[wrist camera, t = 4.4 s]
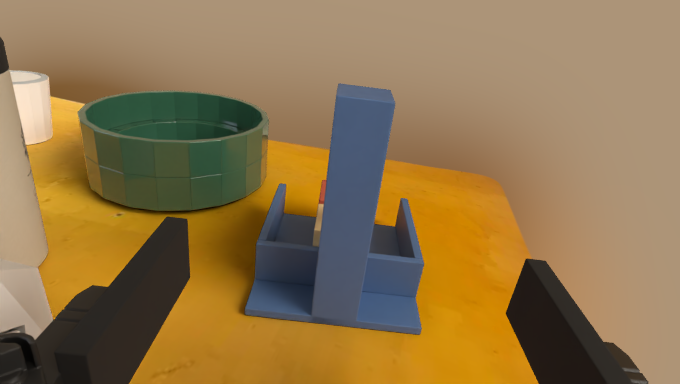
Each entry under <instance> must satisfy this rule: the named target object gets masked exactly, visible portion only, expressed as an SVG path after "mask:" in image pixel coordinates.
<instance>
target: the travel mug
mask: <svg viewBox="0 0 680 384" xmlns="http://www.w3.org/2000/svg"><path fill="white" fill-rule="evenodd" d="M47 254H48V244H47V240H46V235H45V230H44V226H43V221H42V217H41V212H40V208H39V203H38V198H37V194H36V189H35V185H34V180H33V175H32V171H31V166H30V162H29V157H28V152H27V148H26V143H25V139H24V134H23V129H22V125H21V120H20V116H19V111H18V106H17V102H16V97H15V93H14V88H13V83H12V79H11V74H10V70H9V65H8V61H7V56H6V52H5V47H4V42H3V40H2V39H1V38H0V259H4V260H8V261H12V262H16V263H20V264H24V265H28V266H32V267H36V268H37V267H38V266H39V265H41V263H42V262H43V261H44V260H45V258H46V256H47Z"/></svg>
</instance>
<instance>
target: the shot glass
mask: <svg viewBox="0 0 680 384" xmlns="http://www.w3.org/2000/svg"><path fill="white" fill-rule="evenodd" d="M10 74H11V79H12V83H13V88H14V93H15V97H16V102H17V106H18V111H19V116H20V120H21V125H22V129H23V134H24V139H25V143H26V145H30V144H37V143H41V142H44V141H47V140H49V139H51V138H52V136H53V129H52V115H51V101H50V88H49V77H48V76H47V75H45V74H41V73H37V72H28V71H10Z"/></svg>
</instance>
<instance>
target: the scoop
mask: <svg viewBox="0 0 680 384" xmlns="http://www.w3.org/2000/svg"><path fill="white" fill-rule="evenodd" d="M394 108H395V101H394V98H393V96H392V93H391V90H386V89H378V88H369V87H362V86H354V85H346V84H338V88H337V95H336V102H335V111H334V120H333V128H332V137H331V147H330V154H329V163H328V171H327V180H326V189H325V197H324V206H323V215H322V223H321V232H320V241H319V247H315V246H313V237H314V228H315V222H316V217H309V216H301V215H292V214H284V206H285V191H286V184H279V186H278V189H277V191H276V194H275V196H274V199H273V202H272V204H271V207H270V209H269V212H268V215H267V217H266V220H265V222H264V225H263V228H262V230H261V233H260V235H259V238H258V241H257V243H256V259H255V280H254V283H253V286H252V289H251V292H250V295H249V298H248V301H247V304H246V307H245V315H249V316H258V317H267V318H276V319H285V320H294V321H303V322H312V323H320V324H329V325H338V326H347V327H356V328H365V329H374V330H383V331H391V332H400V333H409V334H418V335H419V334H420V332H421V329H422V328H421V323H420V318H419V313H418V308H417V303H416V298H415V297H416V294H417V290H418V286H419V282H420V278H421V274H422V270H423V266H424V262H423V258H422V254H421V250H420V246H419V242H418V238H417V234H416V231H415V227H414V223H413V219H412V215H411V211H410V207H409V204H408V200H407V199H404V198H401V201H400V206H399V210H398V215H397V220H396V225H395V227H393V226H385V225H377V224H374V220H375V215H376V209H377V203H378V198H379V192H380V187H381V181H382V175H383V170H384V164H385V159H386V152H387V147H388V142H389V136H390V131H391V125H392V119H393V114H394Z"/></svg>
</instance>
